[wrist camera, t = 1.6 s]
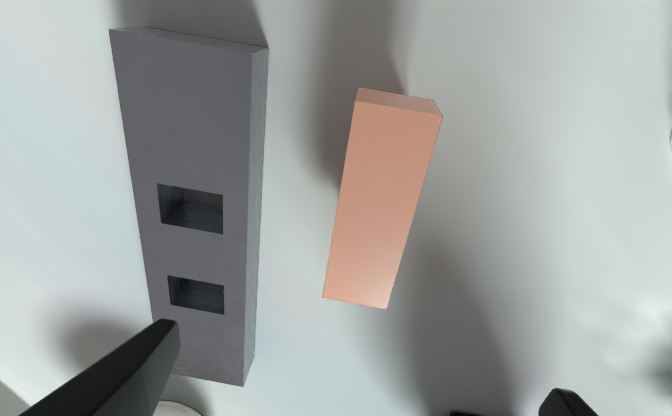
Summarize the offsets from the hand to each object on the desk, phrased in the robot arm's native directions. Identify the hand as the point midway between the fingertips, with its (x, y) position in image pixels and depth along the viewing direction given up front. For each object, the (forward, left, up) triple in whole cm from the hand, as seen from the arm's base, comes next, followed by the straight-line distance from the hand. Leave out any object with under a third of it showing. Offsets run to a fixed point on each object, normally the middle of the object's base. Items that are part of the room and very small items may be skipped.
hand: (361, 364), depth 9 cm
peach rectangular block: (0, 0, -12) cm, 12 cm away
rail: (+9, +6, -12) cm, 16 cm away
